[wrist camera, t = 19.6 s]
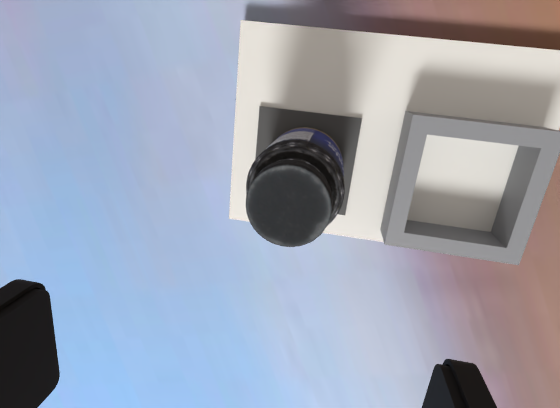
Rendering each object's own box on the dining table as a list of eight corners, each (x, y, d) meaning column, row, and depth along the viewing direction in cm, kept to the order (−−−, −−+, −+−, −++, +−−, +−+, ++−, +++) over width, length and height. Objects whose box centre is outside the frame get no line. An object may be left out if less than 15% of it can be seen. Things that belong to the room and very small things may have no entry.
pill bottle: (349, 191, 30) (356, 251, 20) (278, 205, 31) (249, 268, 21) (334, 116, 28) (332, 138, 18) (259, 134, 30) (217, 164, 19)
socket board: (575, 53, 26) (617, 49, 22) (505, 255, 31) (529, 280, 27) (244, 22, 28) (229, 13, 24) (232, 213, 34) (218, 231, 30)
